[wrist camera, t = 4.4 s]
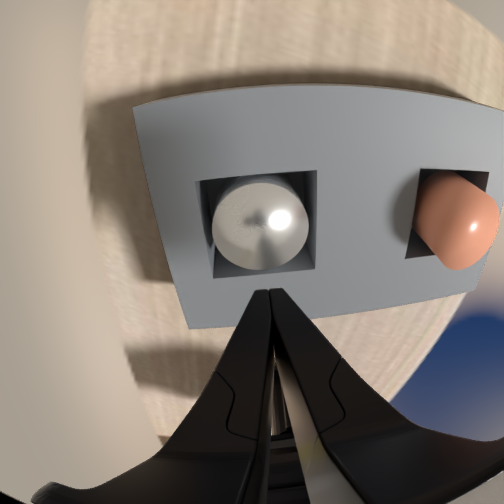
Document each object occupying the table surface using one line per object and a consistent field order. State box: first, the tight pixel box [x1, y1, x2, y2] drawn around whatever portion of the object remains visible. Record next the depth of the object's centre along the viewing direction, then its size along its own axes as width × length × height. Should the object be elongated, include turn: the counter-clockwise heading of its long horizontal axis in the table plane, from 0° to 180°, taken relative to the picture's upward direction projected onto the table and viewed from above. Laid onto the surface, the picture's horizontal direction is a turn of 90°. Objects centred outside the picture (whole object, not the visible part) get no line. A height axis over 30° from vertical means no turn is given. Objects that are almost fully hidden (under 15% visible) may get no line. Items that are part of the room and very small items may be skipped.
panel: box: [132, 83, 504, 329], centre depth 15 cm, size 12×19×4 cm, turn 95°
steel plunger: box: [212, 172, 309, 270], centre depth 14 cm, size 4×4×3 cm
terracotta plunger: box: [412, 170, 499, 270], centre depth 13 cm, size 4×4×3 cm
